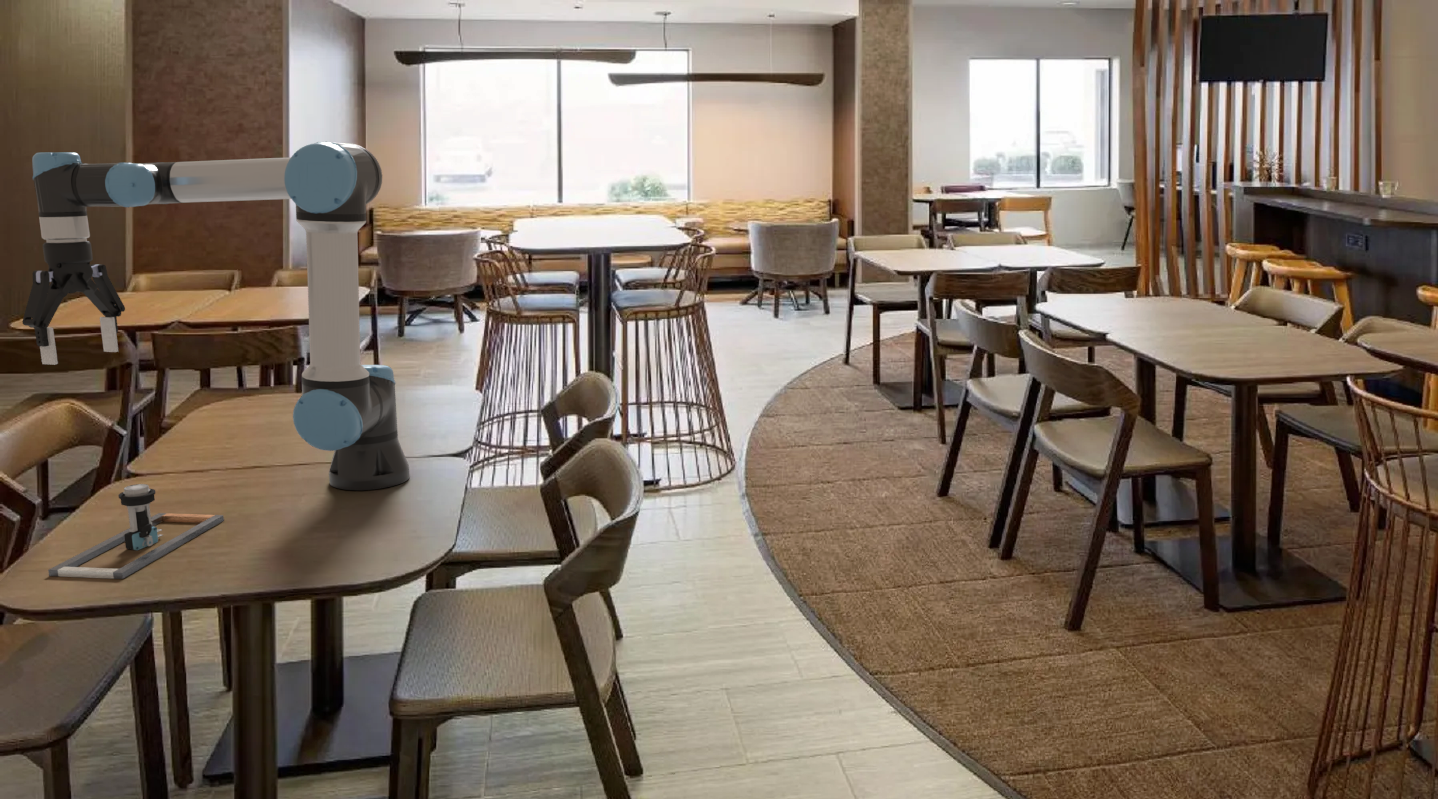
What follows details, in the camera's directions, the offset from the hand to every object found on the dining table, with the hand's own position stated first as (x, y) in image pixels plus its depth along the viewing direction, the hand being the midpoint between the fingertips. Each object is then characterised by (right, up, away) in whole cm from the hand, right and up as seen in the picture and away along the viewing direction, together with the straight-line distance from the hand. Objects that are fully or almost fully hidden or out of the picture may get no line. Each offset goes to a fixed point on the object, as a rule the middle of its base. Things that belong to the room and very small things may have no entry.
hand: (81, 357), depth 204 cm
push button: (+22, -32, -20) cm, 44 cm away
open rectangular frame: (+22, -32, -21) cm, 44 cm away
